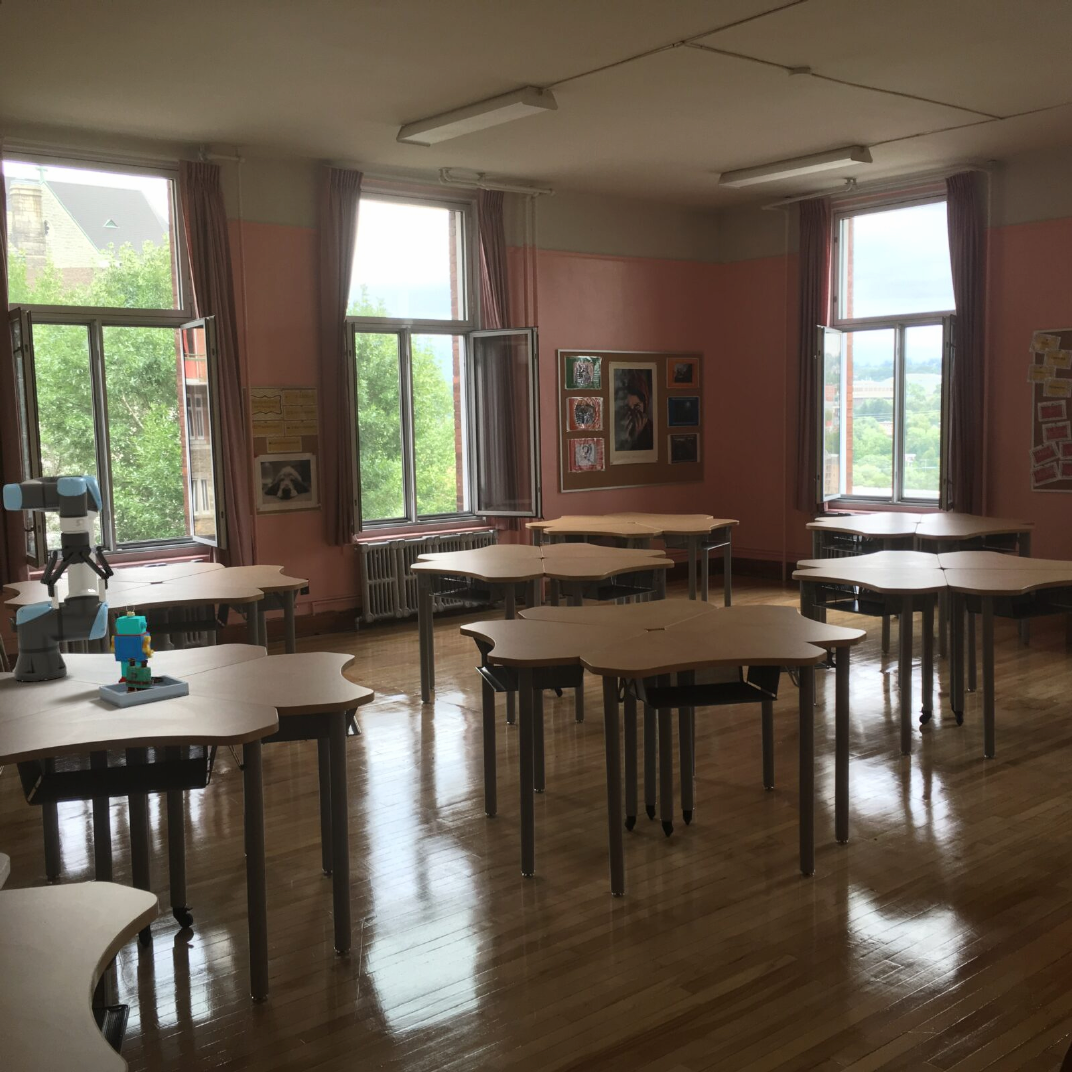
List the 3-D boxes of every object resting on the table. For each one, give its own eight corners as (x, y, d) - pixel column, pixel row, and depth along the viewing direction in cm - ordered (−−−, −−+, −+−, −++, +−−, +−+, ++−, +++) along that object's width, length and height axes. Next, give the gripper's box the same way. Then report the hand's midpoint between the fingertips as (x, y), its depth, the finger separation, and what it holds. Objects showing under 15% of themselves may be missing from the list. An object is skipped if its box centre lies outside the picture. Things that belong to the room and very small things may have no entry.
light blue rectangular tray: (99, 698, 312) (99, 686, 312) (166, 686, 326) (165, 674, 326) (120, 707, 302) (120, 695, 301) (189, 694, 315) (188, 682, 315)
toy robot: (158, 682, 331) (153, 601, 328) (149, 687, 325) (144, 605, 322) (121, 682, 332) (117, 602, 329) (112, 687, 326) (107, 605, 323)
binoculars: (169, 657, 316) (143, 660, 307) (168, 693, 316) (143, 698, 307) (145, 654, 320) (119, 658, 311) (144, 690, 320) (119, 695, 311)
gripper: (35, 537, 298) (40, 612, 301) (122, 528, 316) (127, 599, 319) (24, 534, 303) (29, 609, 306) (111, 526, 321) (115, 596, 324)
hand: (79, 604), depth 312 cm, fingers open, 13 cm apart
